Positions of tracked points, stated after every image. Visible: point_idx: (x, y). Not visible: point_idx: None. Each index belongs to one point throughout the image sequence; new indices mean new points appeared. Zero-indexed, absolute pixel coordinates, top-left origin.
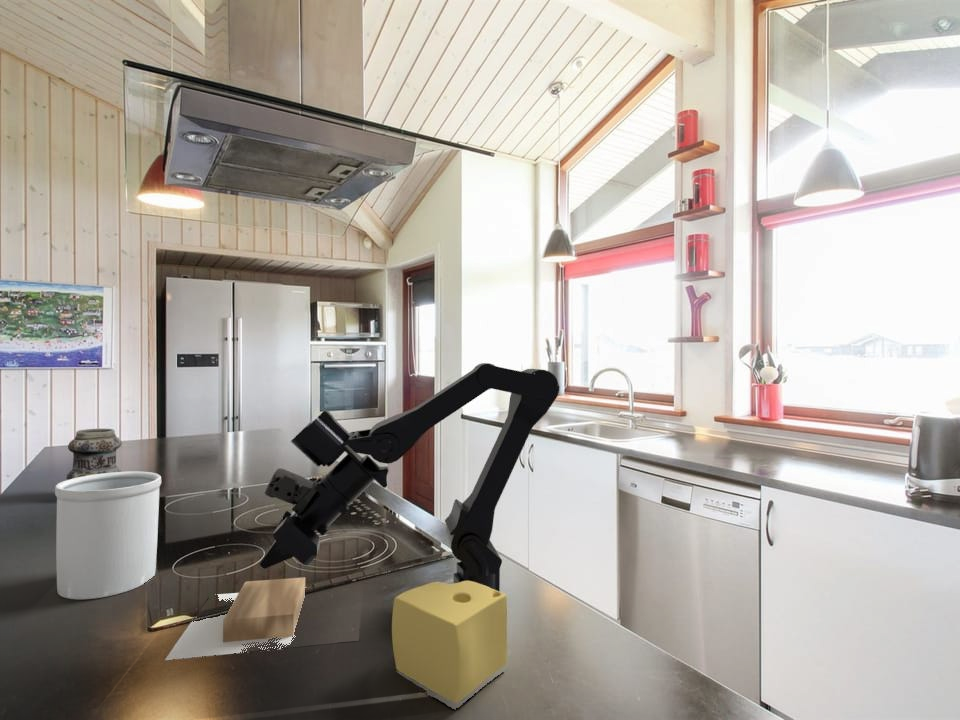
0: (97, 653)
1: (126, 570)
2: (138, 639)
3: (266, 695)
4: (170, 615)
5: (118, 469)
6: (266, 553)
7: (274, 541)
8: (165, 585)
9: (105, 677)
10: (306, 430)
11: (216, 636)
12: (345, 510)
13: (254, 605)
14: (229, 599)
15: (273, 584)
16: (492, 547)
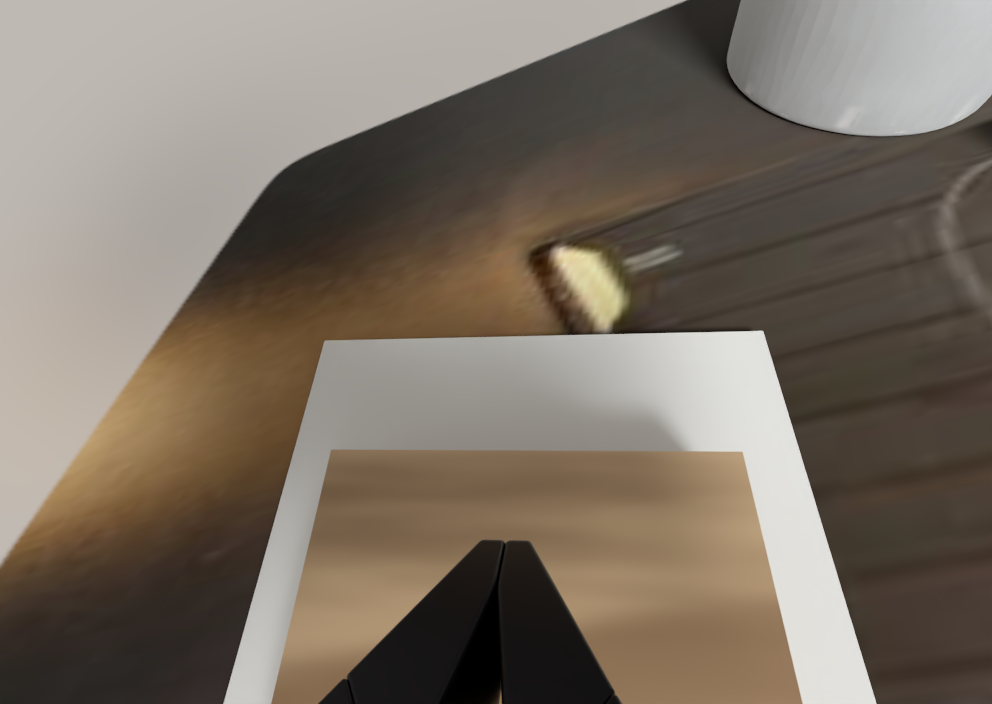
0: (443, 196)
1: (811, 51)
2: (489, 245)
3: None
4: (625, 267)
5: None
6: (503, 590)
7: (597, 686)
8: (850, 184)
9: (326, 250)
10: None
11: (414, 445)
12: None
13: (433, 565)
14: (723, 413)
15: (702, 637)
16: None
